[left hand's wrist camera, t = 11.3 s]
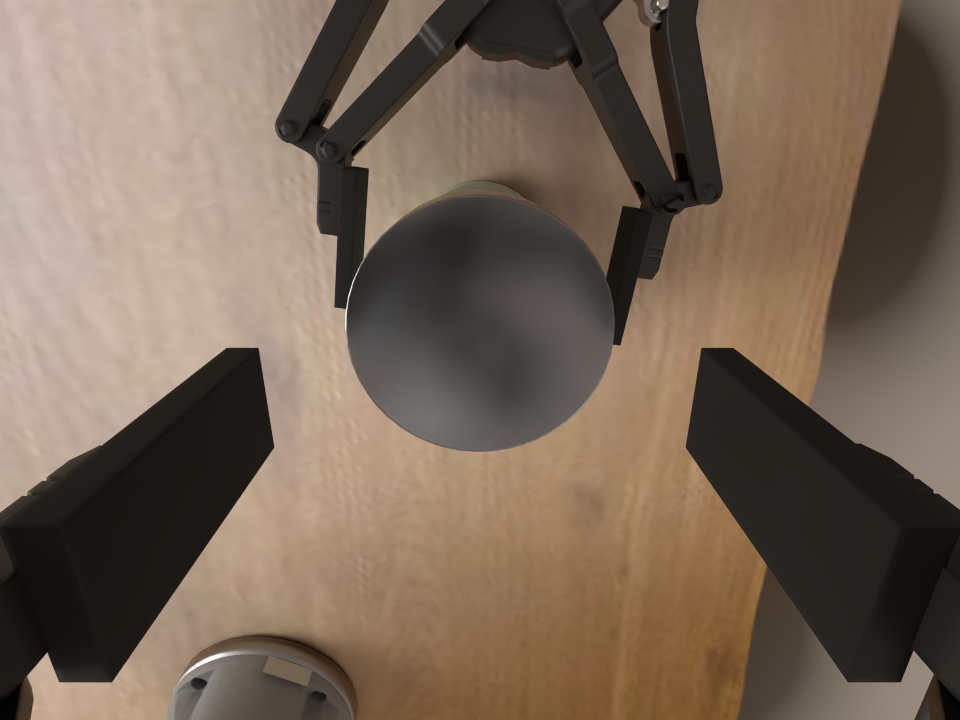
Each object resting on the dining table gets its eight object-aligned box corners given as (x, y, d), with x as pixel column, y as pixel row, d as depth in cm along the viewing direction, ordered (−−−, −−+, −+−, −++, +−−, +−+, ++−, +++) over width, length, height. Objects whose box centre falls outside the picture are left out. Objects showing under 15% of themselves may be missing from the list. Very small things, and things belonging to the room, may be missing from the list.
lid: (313, 331, 20) (293, 353, 18) (461, 132, 18) (458, 129, 16) (495, 461, 22) (496, 494, 20) (650, 299, 20) (671, 317, 18)
